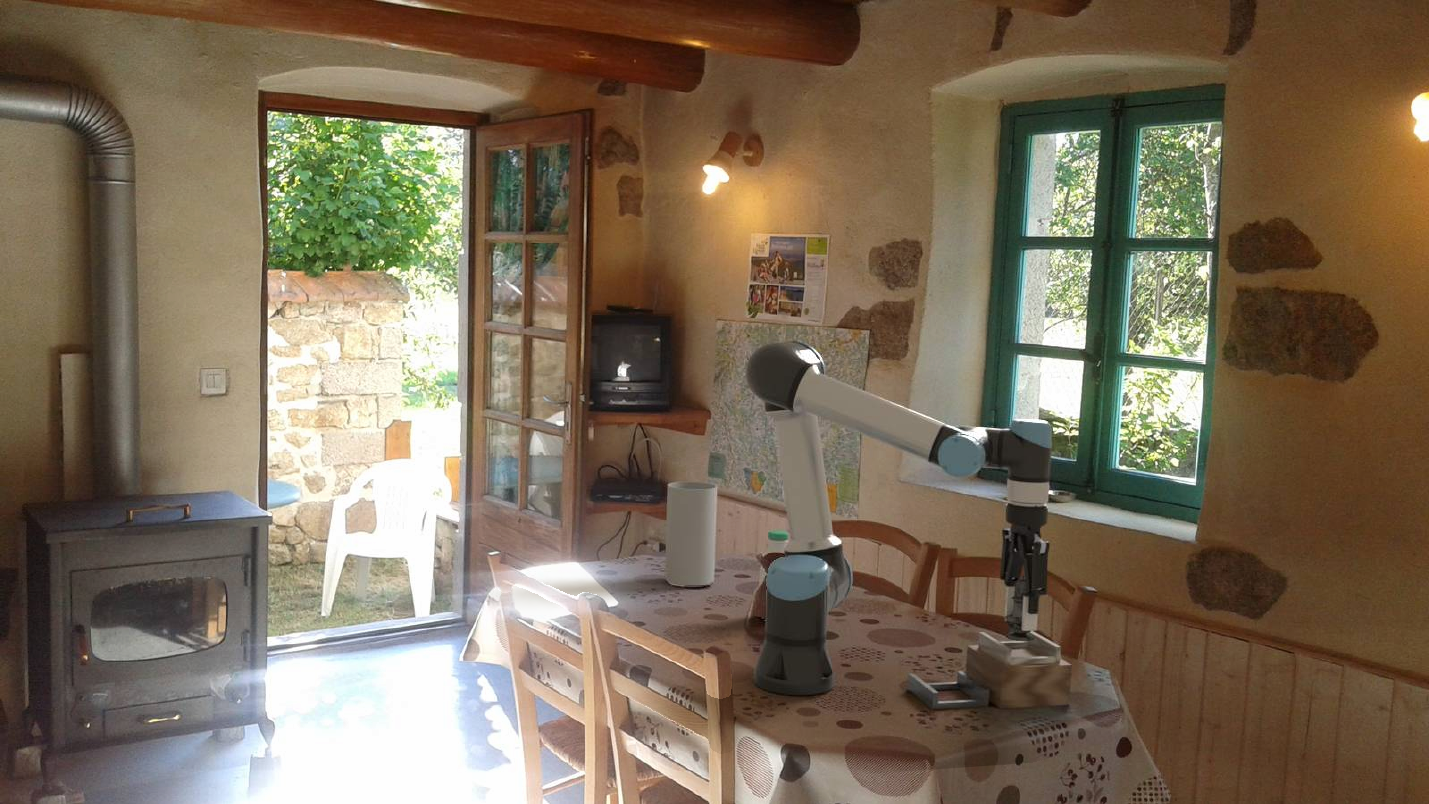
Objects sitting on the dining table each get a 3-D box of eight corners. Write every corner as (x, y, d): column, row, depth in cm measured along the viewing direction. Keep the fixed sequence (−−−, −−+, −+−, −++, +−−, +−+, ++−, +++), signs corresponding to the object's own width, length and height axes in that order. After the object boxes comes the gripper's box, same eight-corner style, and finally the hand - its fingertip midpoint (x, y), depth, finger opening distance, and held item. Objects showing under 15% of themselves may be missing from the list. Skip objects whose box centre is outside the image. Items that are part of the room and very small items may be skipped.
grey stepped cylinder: (1036, 643, 220) (1040, 579, 219) (1004, 640, 221) (1007, 576, 220) (1035, 634, 226) (1038, 572, 225) (1003, 632, 227) (1006, 569, 226)
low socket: (932, 709, 214) (933, 692, 214) (907, 689, 225) (908, 673, 224) (988, 706, 217) (989, 690, 217) (961, 686, 227) (962, 671, 227)
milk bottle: (763, 623, 267) (767, 535, 265) (753, 614, 275) (757, 528, 273) (796, 622, 269) (800, 534, 268) (785, 613, 277) (788, 528, 275)
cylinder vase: (723, 582, 305) (726, 485, 303) (696, 591, 294) (700, 491, 292) (682, 574, 311) (685, 480, 309) (654, 583, 301) (658, 485, 299)
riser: (999, 708, 216) (1003, 651, 215) (965, 683, 229) (968, 630, 228) (1069, 704, 219) (1072, 648, 218) (1031, 680, 233) (1034, 627, 232)
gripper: (1072, 511, 213) (1065, 638, 215) (1020, 494, 231) (1014, 611, 233) (1034, 512, 211) (1027, 640, 213) (985, 494, 229) (979, 612, 231)
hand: (1020, 625), depth 223 cm, fingers closed on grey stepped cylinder, 6 cm apart
